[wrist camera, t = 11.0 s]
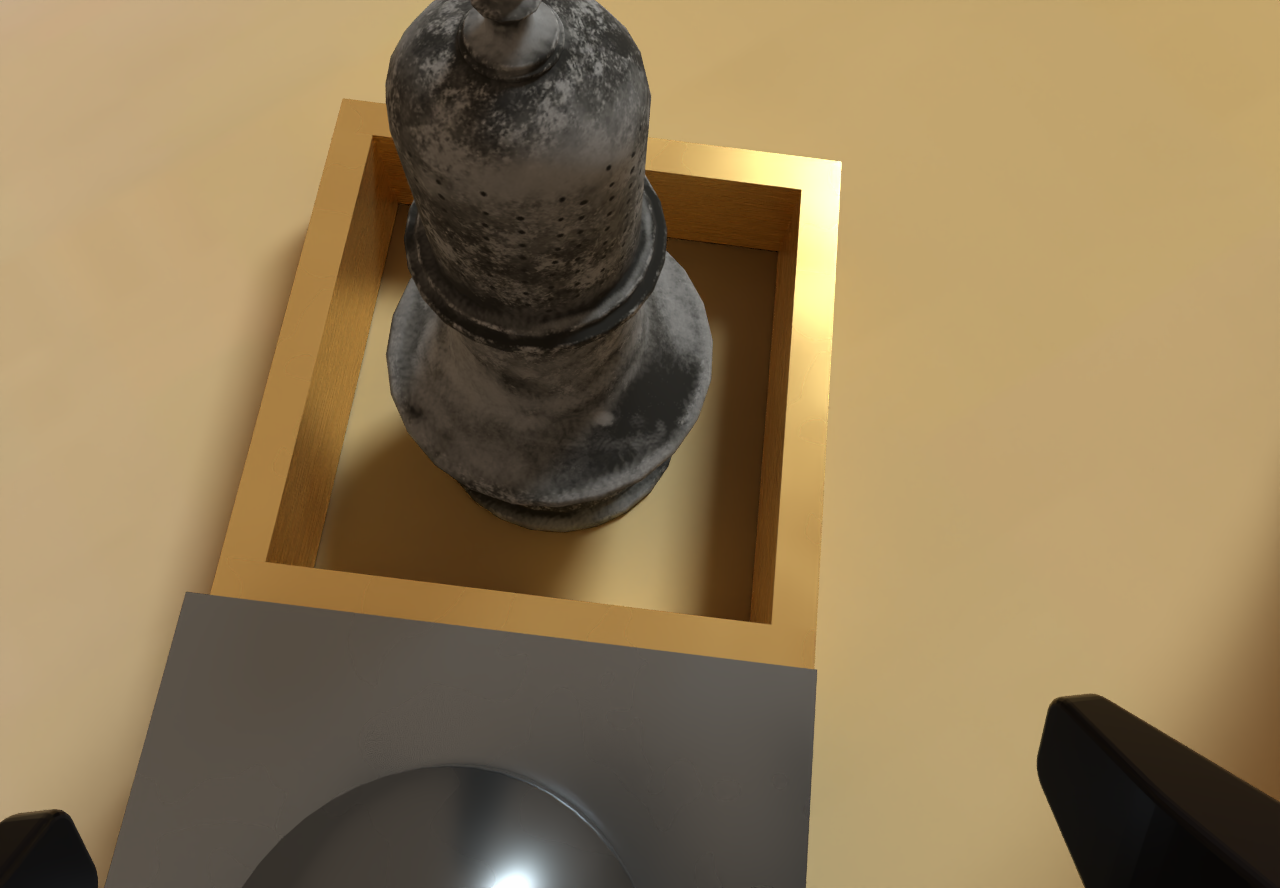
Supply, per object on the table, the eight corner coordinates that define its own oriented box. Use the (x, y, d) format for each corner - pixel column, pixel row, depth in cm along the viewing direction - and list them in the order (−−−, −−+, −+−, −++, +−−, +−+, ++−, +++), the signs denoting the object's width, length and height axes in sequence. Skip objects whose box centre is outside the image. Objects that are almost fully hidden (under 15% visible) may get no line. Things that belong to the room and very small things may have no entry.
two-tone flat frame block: (745, 1301, 14) (817, 1584, 10) (111, 1225, 14) (-129, 1473, 10) (813, 225, 21) (877, 78, 16) (372, 169, 21) (304, 5, 16)
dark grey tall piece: (425, 298, 20) (188, -280, 8) (682, 288, 20) (790, -278, 9) (422, 554, 18) (118, 262, 7) (704, 538, 18) (876, 237, 7)
